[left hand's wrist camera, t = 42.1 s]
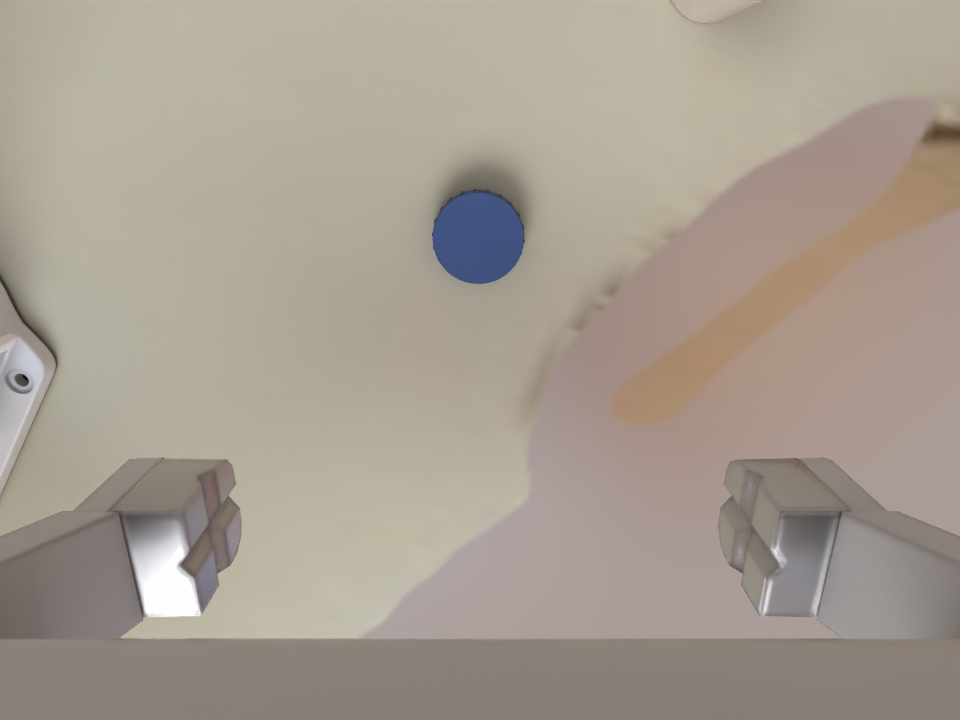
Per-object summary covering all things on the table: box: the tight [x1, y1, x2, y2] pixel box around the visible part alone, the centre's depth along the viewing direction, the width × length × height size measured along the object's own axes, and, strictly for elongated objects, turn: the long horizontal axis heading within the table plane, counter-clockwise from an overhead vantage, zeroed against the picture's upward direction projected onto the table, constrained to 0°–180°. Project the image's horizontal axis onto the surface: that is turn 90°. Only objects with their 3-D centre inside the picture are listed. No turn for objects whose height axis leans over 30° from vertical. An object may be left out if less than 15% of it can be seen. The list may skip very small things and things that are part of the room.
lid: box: [432, 189, 525, 284], centre depth 36 cm, size 5×5×2 cm
